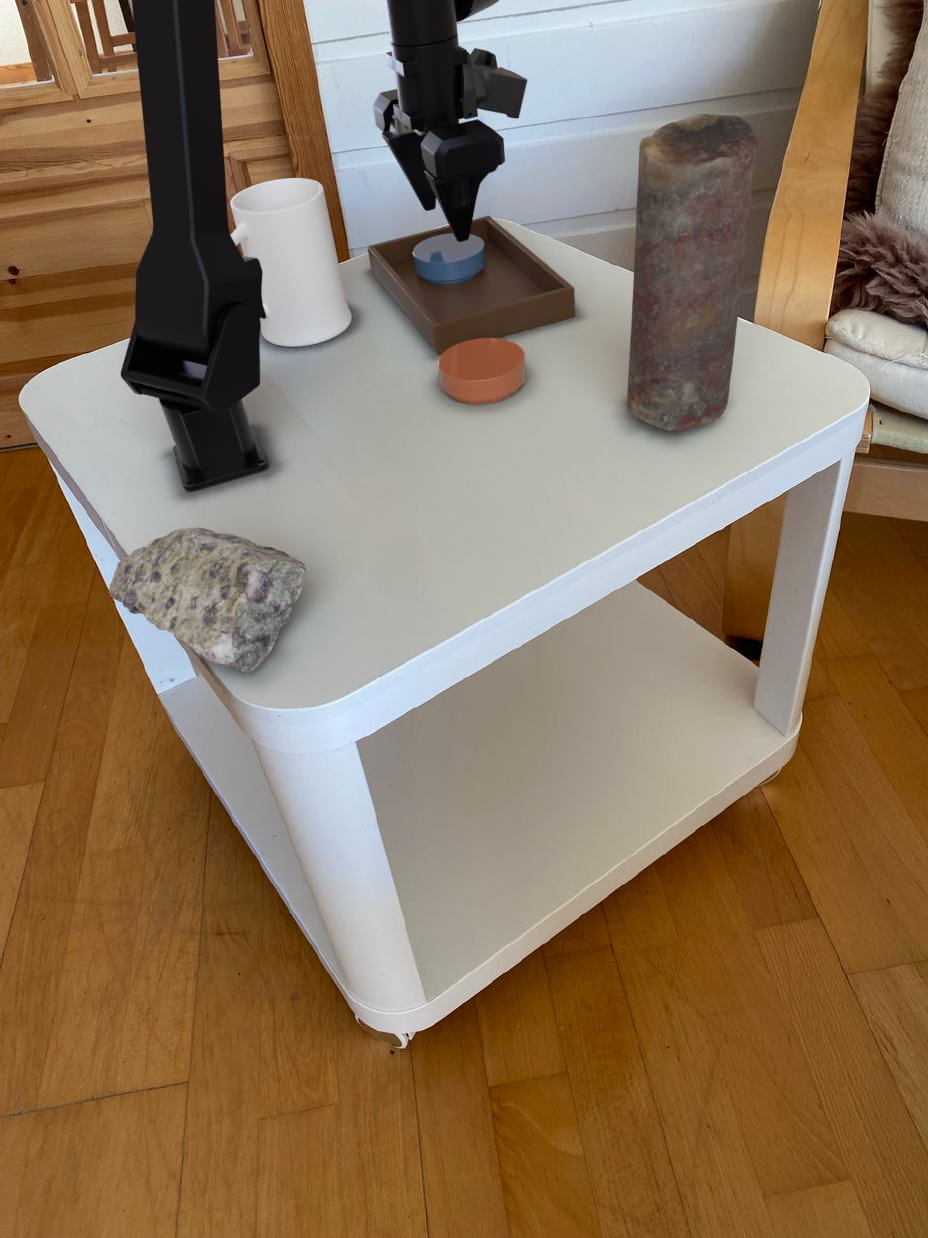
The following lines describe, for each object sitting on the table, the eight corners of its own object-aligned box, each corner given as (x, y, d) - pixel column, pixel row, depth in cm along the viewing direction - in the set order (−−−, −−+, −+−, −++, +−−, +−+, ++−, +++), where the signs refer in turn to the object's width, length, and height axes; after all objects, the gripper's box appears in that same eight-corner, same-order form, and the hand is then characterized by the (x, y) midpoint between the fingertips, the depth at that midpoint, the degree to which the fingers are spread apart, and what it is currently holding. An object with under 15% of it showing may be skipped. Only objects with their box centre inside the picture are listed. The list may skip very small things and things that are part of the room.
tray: (575, 316, 85) (574, 287, 83) (437, 354, 82) (433, 325, 80) (491, 241, 99) (489, 215, 97) (371, 272, 96) (366, 245, 94)
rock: (266, 689, 54) (338, 561, 60) (210, 625, 50) (291, 495, 56) (114, 680, 61) (191, 565, 66) (54, 623, 57) (140, 506, 62)
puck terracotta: (540, 392, 76) (538, 365, 74) (459, 416, 74) (455, 389, 73) (506, 356, 81) (504, 329, 79) (429, 377, 79) (426, 351, 78)
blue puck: (497, 275, 91) (495, 250, 90) (429, 293, 90) (426, 268, 88) (471, 250, 96) (469, 227, 95) (406, 267, 95) (403, 243, 93)
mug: (264, 371, 83) (227, 235, 75) (215, 343, 88) (175, 212, 80) (370, 320, 88) (345, 187, 80) (318, 296, 93) (290, 169, 85)
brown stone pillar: (750, 417, 70) (785, 126, 56) (677, 456, 67) (694, 160, 54) (677, 380, 75) (693, 103, 61) (606, 414, 72) (606, 134, 59)
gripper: (558, 38, 74) (564, 236, 85) (472, 2, 88) (487, 177, 98) (425, 67, 72) (449, 266, 83) (358, 25, 85) (386, 202, 96)
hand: (446, 224), depth 90 cm, fingers open, 9 cm apart
